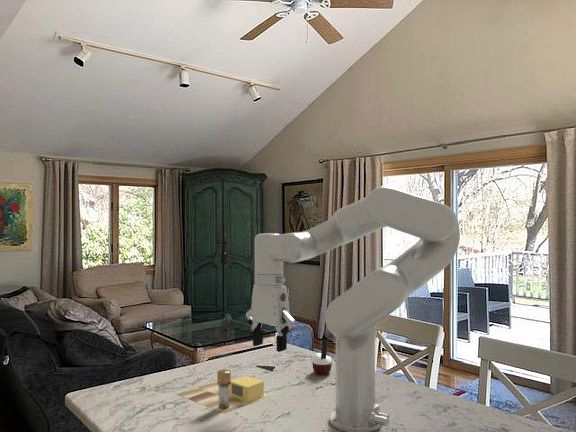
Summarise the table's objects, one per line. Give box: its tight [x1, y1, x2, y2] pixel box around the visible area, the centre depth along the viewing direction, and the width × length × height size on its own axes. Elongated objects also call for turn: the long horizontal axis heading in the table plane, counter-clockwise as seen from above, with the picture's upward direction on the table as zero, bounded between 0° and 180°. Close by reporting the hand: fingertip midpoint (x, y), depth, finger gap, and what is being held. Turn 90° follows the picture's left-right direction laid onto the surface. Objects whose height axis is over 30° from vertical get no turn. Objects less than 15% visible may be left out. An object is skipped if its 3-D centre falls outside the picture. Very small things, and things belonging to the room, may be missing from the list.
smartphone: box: [254, 363, 278, 373], centre depth 150 cm, size 7×15×1 cm, turn 170°
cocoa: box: [311, 338, 333, 376], centre depth 149 cm, size 10×6×12 cm, turn 168°
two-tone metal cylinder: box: [216, 369, 232, 409], centre depth 119 cm, size 3×3×9 cm
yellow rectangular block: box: [230, 375, 265, 402], centre depth 127 cm, size 7×6×4 cm
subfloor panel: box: [176, 379, 269, 414], centre depth 128 cm, size 20×16×1 cm
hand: (269, 347), depth 121 cm, fingers open, 7 cm apart
